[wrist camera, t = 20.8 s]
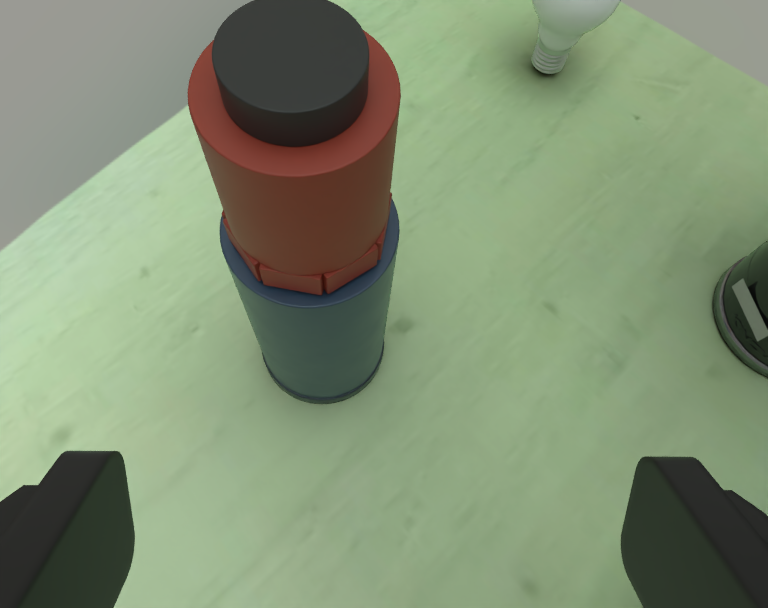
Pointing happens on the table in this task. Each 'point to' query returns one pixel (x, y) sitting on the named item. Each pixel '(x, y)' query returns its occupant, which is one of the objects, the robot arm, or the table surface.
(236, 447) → the table surface
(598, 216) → the table surface
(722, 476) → the table surface
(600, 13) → the lightbulb
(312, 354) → the flask
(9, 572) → the robot arm
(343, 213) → the lid
